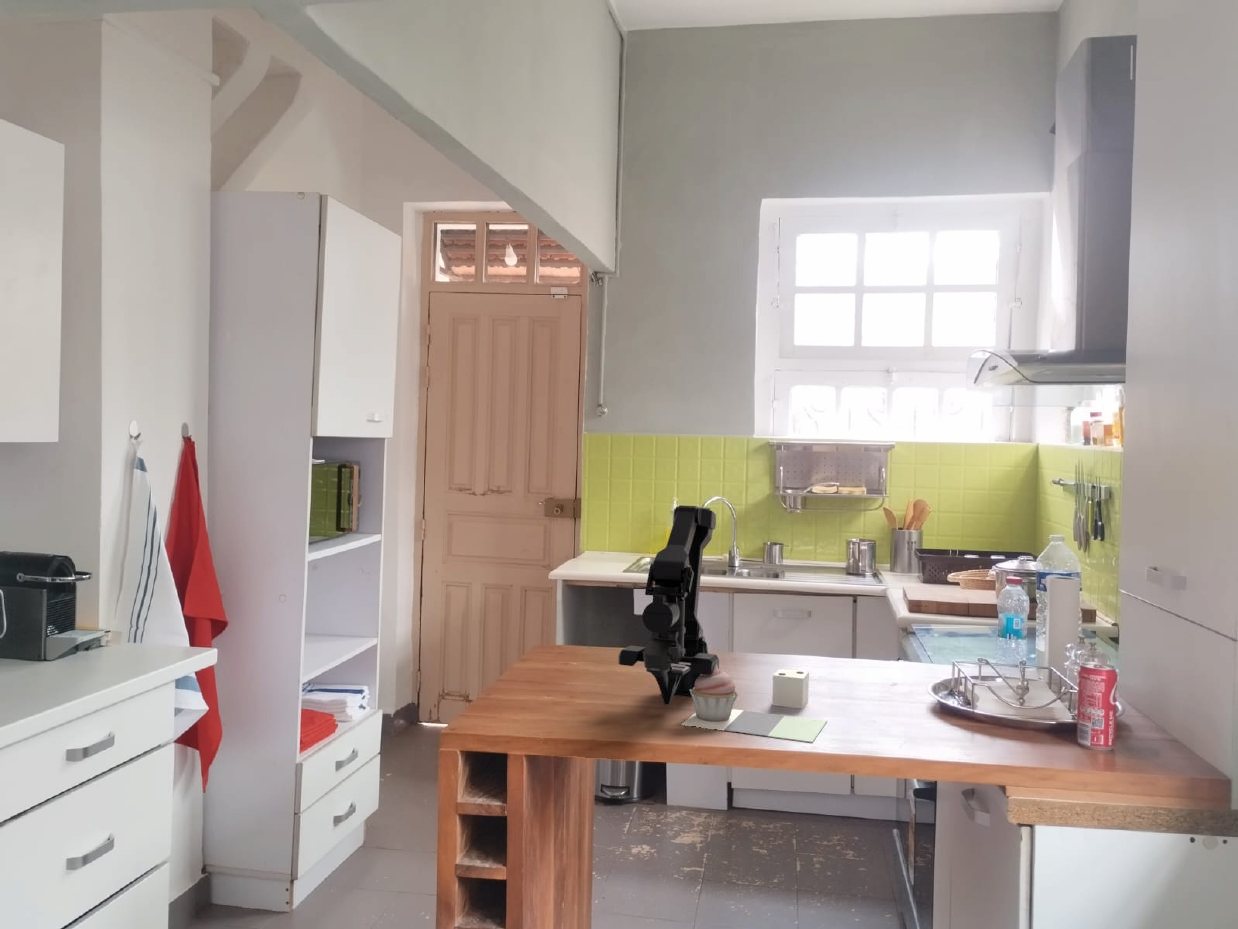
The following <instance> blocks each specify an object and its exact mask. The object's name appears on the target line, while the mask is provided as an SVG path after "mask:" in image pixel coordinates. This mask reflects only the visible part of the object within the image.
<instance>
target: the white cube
mask: <svg viewBox="0 0 1238 929" xmlns="http://www.w3.org/2000/svg"><path fill="white" fill-rule="evenodd" d="M809 685H810V671H803V670H792V669H783V668H779V669H778V670H776V672H775V673H774V674H772V696H771V697H772V700H771V701H772V702H771V704H772V706H775V707H776V706H777V707H783V708H793V709H799V708H803V709H804V708H805V707H806V705H807V704H808V702H809V691H810V690H809V687H810V686H809ZM806 703H807V704H806Z"/></svg>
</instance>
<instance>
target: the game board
mask: <svg viewBox="0 0 1238 929" xmlns="http://www.w3.org/2000/svg"><path fill="white" fill-rule="evenodd" d="M827 722H828V721H827V720H822V719H815V718H814V719H813V718H805V717H799V716H790V715H782V714H773V713H767V712H761V711H760V712H758V711H752V710H751V711H750V710H743V709H736V708H735V709H733V708H732V711H731V715H730V717H729V719H727V720H723V721H707V720H703V719H700V718H698V717H697V715H696V712H695V713H693V714H692V715H691V716H689V717H688V718H686V720H685V721H684V722H682V723H681V726H684V725H685V726H686V727H691V726H696V727H695V728H699V727H701V728H700V729H706V728H707V730H714V729H717V730H716V731H721V730H722V732H723V731H724V732H731V733H736V732H739V733H738V734H743V733H746V734H745V735H750V734H751V736H752V735H753V736H758V737H766V738H775V739H782V740H786V741H787V740H789V741H797V742H802V743H804V742H805V743H811V744H813V743H814V742H813V741H815V740H816V738H817V737H818V735H819V734H820V733H821V731H822V730H823V728H824V727H825V725H826V724H827ZM685 726H684V727H685ZM821 729H822V730H821ZM819 732H820V733H819Z"/></svg>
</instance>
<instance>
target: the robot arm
mask: <svg viewBox="0 0 1238 929" xmlns="http://www.w3.org/2000/svg"><path fill="white" fill-rule="evenodd" d="M672 516H673V518H672V527H671V530H670V533H669V536H668V540H667V543H666V545H665V547H664V548H663V549H661V550H660V551H658V552H657V553H656V555H655V557H654V560H653V562H651V563H650V564H649V569H648V576H647V581H646V585H645V591H644V595H645V596H652V602H650V603H649V604H647V605H646V607H644V608H643V612H642V616H641V617H642V618H641V619H642V622H643V626H644V627H645V628H646V629H647V630H648V631H650V632H651V638H650V641H649V642H648V643H647V645H646V646H639V645H629V646H627V647H625V648H622V649H621V650H620V652H619V653H618V662H617V664H618V665H619V666H626V667H627V666H628V667H634V666H635V665H636V664H638V662H643V663H644V664H643V666H644V668H645V669H646V672H647V673H650V674H652V676H653V677H654V678H655V680H656V682H657V685H658V688H659V691H660V694H661V697H662V700H663V704H664V705H667V706H669V705H671V703H672V701H673V697H674V695H682V696H688V697H692V695H691V693H690V690H691V689H693V688H694V687H695V686H694V684H695V681H696V679H697V678H698V677H699V676H700V675H702V674H705V675H711V674H713V670H714V667H715V665H716V664H717V667H718V669H720V659H719V657H718V655H717V654H716V653H715V654H713V653H709V648H708V643H707V642H706V638H705V637H706V636H704V630H703V627H702V625H701V623H700V621H699V619H698V610H699V609H698V608H699V598H700V587H701V579H702V578H701V576H702V566H703V565H702V564H703V554H704V550H705V548H706V547H707V545H708V544H709V543H710V542H711V541H712V538H713V531H715V530H716V525H717V515H716V513H715V512H714V511H713V510H711V508H710V507H701V506H698V505H685V504H684V505H678V506H675V508H674V509H673V515H672Z"/></svg>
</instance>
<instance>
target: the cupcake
mask: <svg viewBox="0 0 1238 929" xmlns="http://www.w3.org/2000/svg"><path fill="white" fill-rule="evenodd" d="M694 686H695V687H694V688H693V689H691V690H690V693H691V695H692V696H691V698H692V700H693V701H692V702H693V705H694V712H695V713H696V715H697V717H698V718H700V719H703V720H707V721H723V720H727V719H729V717H730V715H731V711H732V709H733V707H734V704H735V702H736V700H737V698H738V696H739V694H740V693H739V692H737V689H736V684H735V683H734V681H732V680H731V677H730V675H728V673H726V672H725V671H723V670H721V669H720V668H719V669H718V667H717V664H716V665H715V667H714V670H713V674H711V675H705V674H702V675H700V676H699V677H698V678H697V679H696V681H695V684H694Z"/></svg>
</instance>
